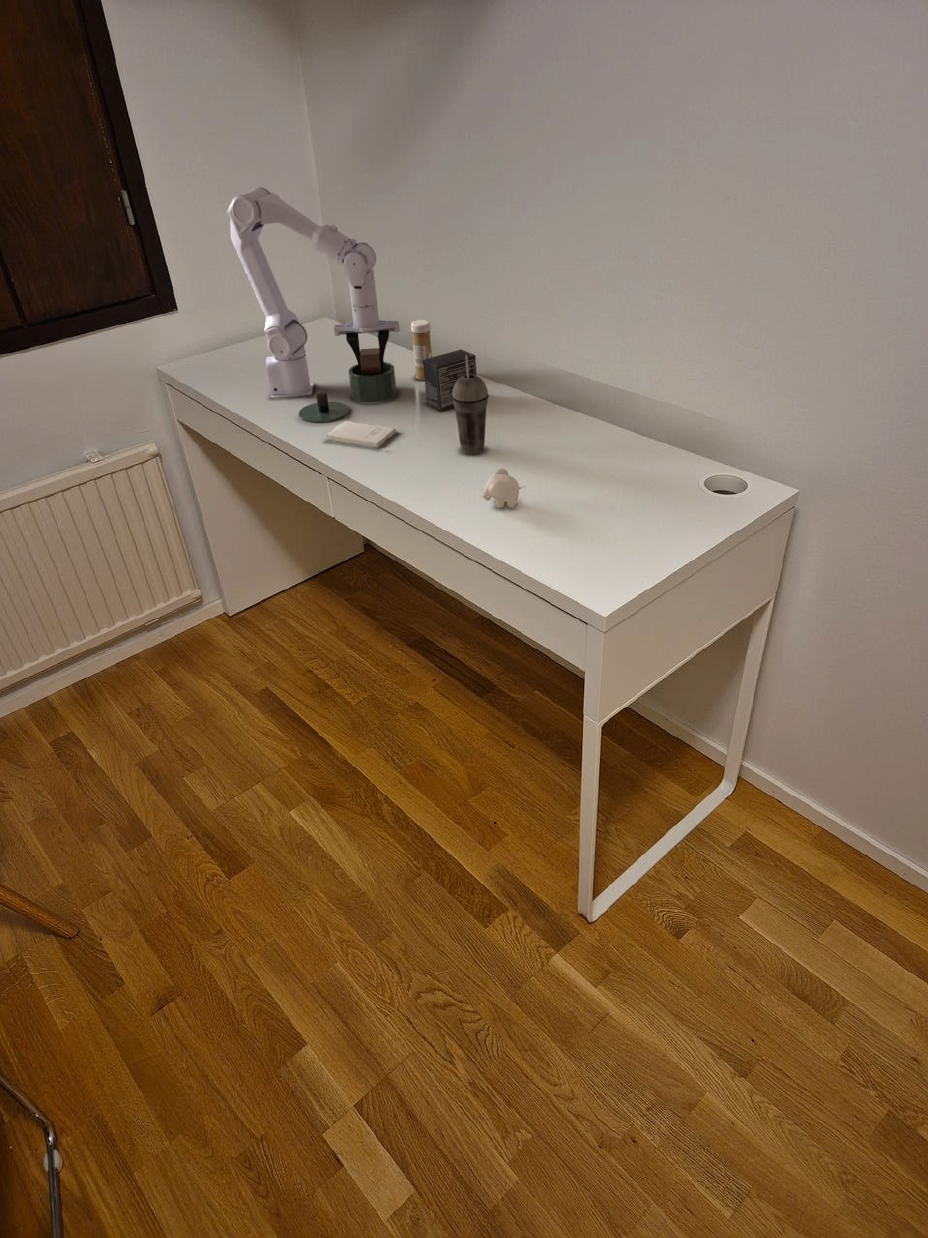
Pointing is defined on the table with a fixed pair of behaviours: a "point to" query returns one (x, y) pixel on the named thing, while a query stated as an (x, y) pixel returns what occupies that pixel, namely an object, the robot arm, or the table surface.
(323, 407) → the lid
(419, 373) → the sprinkles bottle
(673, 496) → the table surface
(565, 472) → the table surface
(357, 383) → the green faceted bucket
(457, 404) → the beverage cup
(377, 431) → the hard drive
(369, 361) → the block
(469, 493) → the table surface
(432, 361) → the small box
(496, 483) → the elephant figurine
